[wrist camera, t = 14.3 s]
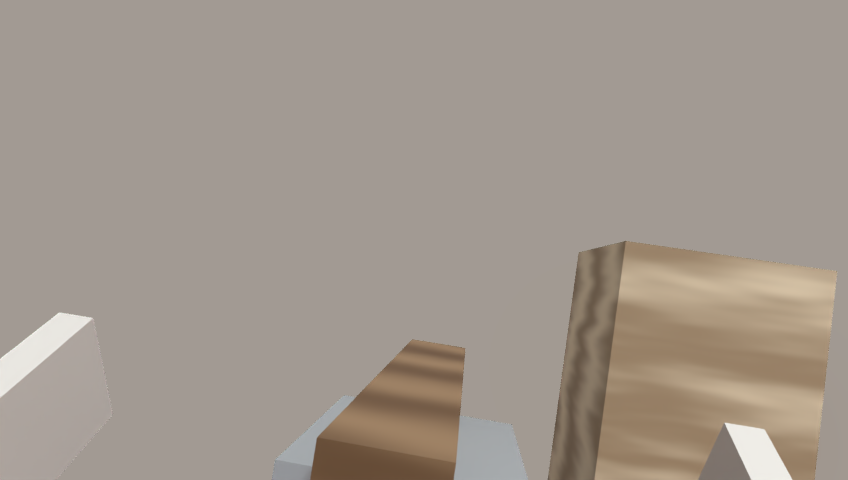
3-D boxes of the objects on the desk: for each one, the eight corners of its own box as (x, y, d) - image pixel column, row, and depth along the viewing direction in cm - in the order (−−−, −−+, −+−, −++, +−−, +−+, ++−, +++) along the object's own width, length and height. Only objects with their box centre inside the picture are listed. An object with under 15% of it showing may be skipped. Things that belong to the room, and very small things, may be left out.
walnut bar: (434, 610, 13) (456, 462, 14) (294, 580, 14) (316, 437, 14) (457, 402, 36) (465, 348, 37) (404, 392, 37) (412, 339, 37)
